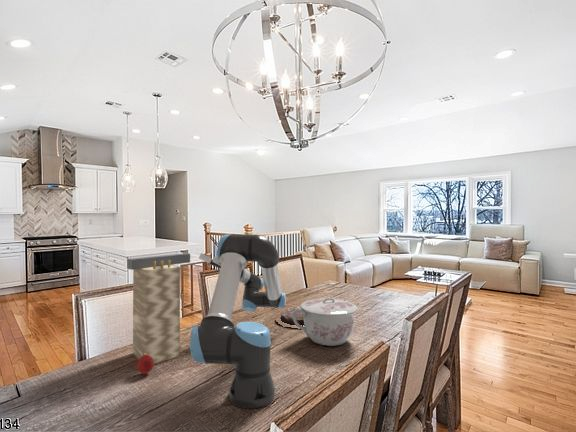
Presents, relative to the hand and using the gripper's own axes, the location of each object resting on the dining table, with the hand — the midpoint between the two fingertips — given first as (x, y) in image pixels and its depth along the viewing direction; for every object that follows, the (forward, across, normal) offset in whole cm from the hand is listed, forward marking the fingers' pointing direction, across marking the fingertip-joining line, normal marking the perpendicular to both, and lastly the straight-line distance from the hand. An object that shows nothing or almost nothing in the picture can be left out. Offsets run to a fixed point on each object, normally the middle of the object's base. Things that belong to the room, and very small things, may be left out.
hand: (206, 257), depth 152 cm
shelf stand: (+1, 0, +46) cm, 46 cm away
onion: (+8, +14, +51) cm, 53 cm away
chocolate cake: (-67, +8, +9) cm, 68 cm away
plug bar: (+17, -2, +12) cm, 21 cm away
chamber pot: (-59, +38, +13) cm, 71 cm away
